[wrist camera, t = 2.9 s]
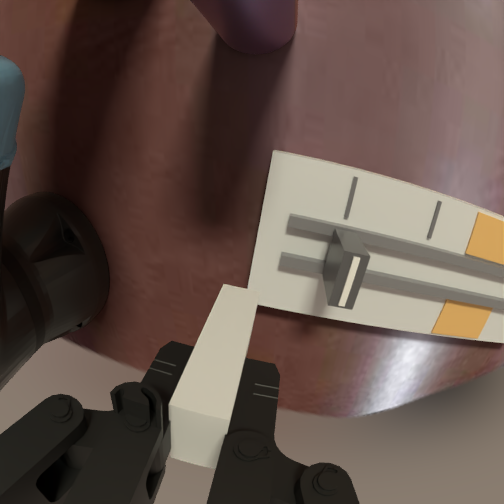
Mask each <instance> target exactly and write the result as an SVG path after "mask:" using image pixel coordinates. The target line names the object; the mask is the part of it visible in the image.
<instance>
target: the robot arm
mask: <svg viewBox="0 0 504 504" xmlns="http://www.w3.org/2000/svg"><path fill="white" fill-rule="evenodd" d="M24 93H25V83H24V78H23V75H22V72H21V70H20V69H19V67H18V66H17V65H16V64H15V63H14V62H12V61H11V60H9V59H8V58H6V57H4V56H1V55H0V390H1V389H2V388H3V387H4V386H5V385H6V384H7V383H8V382H9V380H10V379H11V378H12V377H13V376H14V375H15V374H16V372H18V370H19V369H20V368H21V367H22V366H23V365H24V364H25V363H26V362H27V361H28V360H29V359H30V358H31V357H32V355H33V354H34V353H35V352H36V351H37V350H38V349H39V348H40V347H41V346H42V345H43V344H44V343H47V342H50V341H52V340H55V339H57V338H59V337H62V336H64V335H66V334H68V333H69V332H74V331H77V330H79V329H81V328H83V327H84V326H86V325H87V324H88V323H89V322H90V321H91V320H92V319H93V318H94V317H95V316H96V315H97V314H98V313H99V312H100V311H101V309H102V308H103V306H104V304H105V302H106V299H107V296H108V291H109V270H108V264H107V259H106V256H105V252H104V249H103V247H102V244H101V242H100V239H99V237H98V235H97V233H96V231H95V230H94V228H93V226H92V225H91V223H90V222H89V220H88V219H87V218H86V216H85V215H84V214H83V213H82V212H81V211H80V210H79V209H78V208H77V207H76V206H75V205H74V204H73V203H71V202H70V201H69V200H67V199H66V198H64V197H62V196H60V195H58V194H55V193H51V192H37V193H34V194H31V195H28V196H25V197H23V198H20V199H18V200H17V201H15V202H14V203H12V204H11V205H10V206H9V207H8V208H7V209H6V210H5V211H4V208H5V199H6V191H7V184H8V177H9V171H10V165H11V164H12V161H13V159H14V156H15V153H16V150H17V143H16V140H15V137H16V132H17V126H18V121H19V117H20V112H21V108H22V103H23V99H24ZM259 295H260V292H259V291H254V290H249V289H245V288H240V287H235V286H231V285H226V284H223V287H222V289H221V291H220V293H219V295H218V297H217V300H216V302H215V304H214V306H213V308H212V310H211V313H210V315H209V317H208V319H207V321H206V323H205V326H204V328H203V330H202V332H201V334H200V336H199V339H198V341H197V343H196V345H195V347H193V346H189V345H185V344H182V343H178V342H174V341H171V342H169V343H168V344H166V345H165V346H163V347H162V348H161V349H160V350H159V352H158V354H157V356H156V357H155V360H154V361H153V362H152V364H151V366H150V369H148V371H147V373H146V374H145V376H144V378H143V380H142V382H141V383H139V382H127V383H123V384H121V385H118V386H116V387H115V388H114V389H113V390H112V391H111V392H110V394H111V400H112V404H113V409H114V410H112V411H98V410H90V409H83V408H82V405H81V404H80V402H79V401H78V400H77V399H75V398H73V397H71V396H70V395H63V394H58V395H52V396H50V397H48V398H46V399H45V400H44V401H42V402H41V403H40V404H38V405H37V406H36V407H35V408H33V409H32V410H31V411H29V412H28V413H27V414H26V415H24V416H23V417H22V418H21V419H20V420H18V421H17V422H16V423H14V424H13V425H12V426H10V427H9V428H8V429H7V430H5V431H4V432H3V433H2V434H0V504H153V503H154V500H155V498H156V495H157V492H158V490H159V487H160V484H161V482H162V479H163V476H164V474H165V467H166V465H165V462H166V460H167V457H168V455H169V452H170V457H172V458H175V459H178V460H182V461H185V462H189V463H192V464H196V465H200V466H205V467H208V468H213V469H216V470H215V474H214V478H213V482H212V485H211V489H210V493H209V497H208V500H207V504H359V501H358V498H357V495H356V492H355V490H354V487H353V484H352V481H351V479H350V477H349V475H348V474H347V472H346V471H345V470H343V469H342V468H341V467H340V466H337V465H334V464H331V463H317V464H314V465H311V466H310V467H308V466H305V465H303V464H301V463H298V462H296V461H293V460H291V459H289V458H288V457H286V456H285V455H284V454H283V453H281V452H280V450H279V449H278V447H277V446H276V443H275V440H274V431H275V420H276V411H277V402H278V391H279V390H278V389H279V381H280V374H279V372H278V370H277V368H276V365H275V364H273V363H268V362H263V361H258V360H253V359H248V358H246V355H247V351H248V346H249V342H250V337H251V333H252V328H253V323H254V319H255V314H256V309H257V304H258V300H259Z"/></svg>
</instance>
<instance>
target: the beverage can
mask: <svg viewBox="0 0 504 504" xmlns="http://www.w3.org/2000/svg"><path fill="white" fill-rule="evenodd" d="M190 1H191V2H192V3H193V4H194V5H195V6H196V8H197V9H198V10H199V11H200V12H201V13H202V15H203V16H204V17H205V18H206V19H207V21H208V22H209V23H210V24H211V25H212V27H213V28H214V29H215V30H216V32H217V33H218V34H219V35H220V37H221V38H222V39H223V40H224V41H225V43H226V44H228V45H229V46H230V47H232V48H233V49H235V50H237V51H240V52H243V53H247V54H265V53H269V52H272V51H275V50H277V49H279V48H281V47H282V46H284V45H285V44H286V43H287V42H288V41H289V40H290V39H291V38H292V36H293V35H294V33H295V30H296V27H297V15H298V0H190Z"/></svg>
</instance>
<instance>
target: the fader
mask: <svg viewBox="0 0 504 504" xmlns="http://www.w3.org/2000/svg"><path fill="white" fill-rule="evenodd" d="M369 260H370V255H369V253H368V251H367V250H366V248H365V246H364V244H363V243H362V241H361V239H360V238H359V236H358V234H357V233H355V232H350V231H346V230H342V229H337V228H335V230H334V234H333V237H332V241H331V245H330V249H329V252H328V256H327V260H326V263H325V267H324V270H323V274H322V276H323V281H324V287H325V293H326V298H327V304H328V306H334V307H339V308H345V309H350V310H352V309H353V307H354V304H355V301H356V298H357V295H358V293H359V290H360V287H361V284H362V281H363V278H364V275H365V272H366V269H367V266H368V263H369Z"/></svg>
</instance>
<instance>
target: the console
mask: <svg viewBox="0 0 504 504" xmlns="http://www.w3.org/2000/svg"><path fill="white" fill-rule="evenodd" d="M335 228H337V229H342V230H346V231H350V232H355V233H357V234H358V236H359V238H360V239H361V241H362V243H363V244H364V246H365V248H366V250H367V251H368V253H369V255H370V260H369V263H368V266H367V269H366V272H365V275H364V278H363V281H362V284H361V287H360V290H359V293H358V295H357V298H356V301H355V304H354V307H353V309H352V310H350V309H345V308H339V307H334V306H328V304H327V298H326V293H325V287H324V281H323V276H322V274H323V270H324V267H325V263H326V260H327V256H328V252H329V249H330V245H331V241H332V237H333V234H334V230H335ZM247 289H249V290H254V291H259V292H260V295H259V300H258V304H257V305H262V306H267V307H272V308H277V309H282V310H287V311H292V312H297V313H302V314H307V315H313V316H318V317H324V318H329V319H335V320H341V321H346V322H352V323H358V324H364V325H370V326H376V327H383V328H389V329H396V330H402V331H409V332H416V333H423V334H430V335H438V336H446V337H453V338H462V339H470V340H479V341H488V342H498V343H504V216H502V215H499V214H497V213H494V212H492V211H489V210H487V209H484V208H481V207H479V206H476V205H474V204H471V203H468V202H465V201H463V200H460V199H457V198H454V197H451V196H448V195H445V194H442V193H440V192H437V191H433V190H430V189H427V188H424V187H421V186H418V185H415V184H411V183H408V182H405V181H402V180H398V179H395V178H391V177H388V176H384V175H381V174H377V173H373V172H370V171H366V170H362V169H358V168H354V167H351V166H347V165H342V164H338V163H334V162H330V161H326V160H321V159H317V158H312V157H308V156H303V155H299V154H294V153H289V152H284V151H279V150H274V151H273V154H272V160H271V165H270V170H269V176H268V181H267V187H266V192H265V197H264V203H263V208H262V213H261V219H260V224H259V229H258V235H257V240H256V245H255V251H254V256H253V261H252V267H251V272H250V277H249V283H248V288H247Z"/></svg>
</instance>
